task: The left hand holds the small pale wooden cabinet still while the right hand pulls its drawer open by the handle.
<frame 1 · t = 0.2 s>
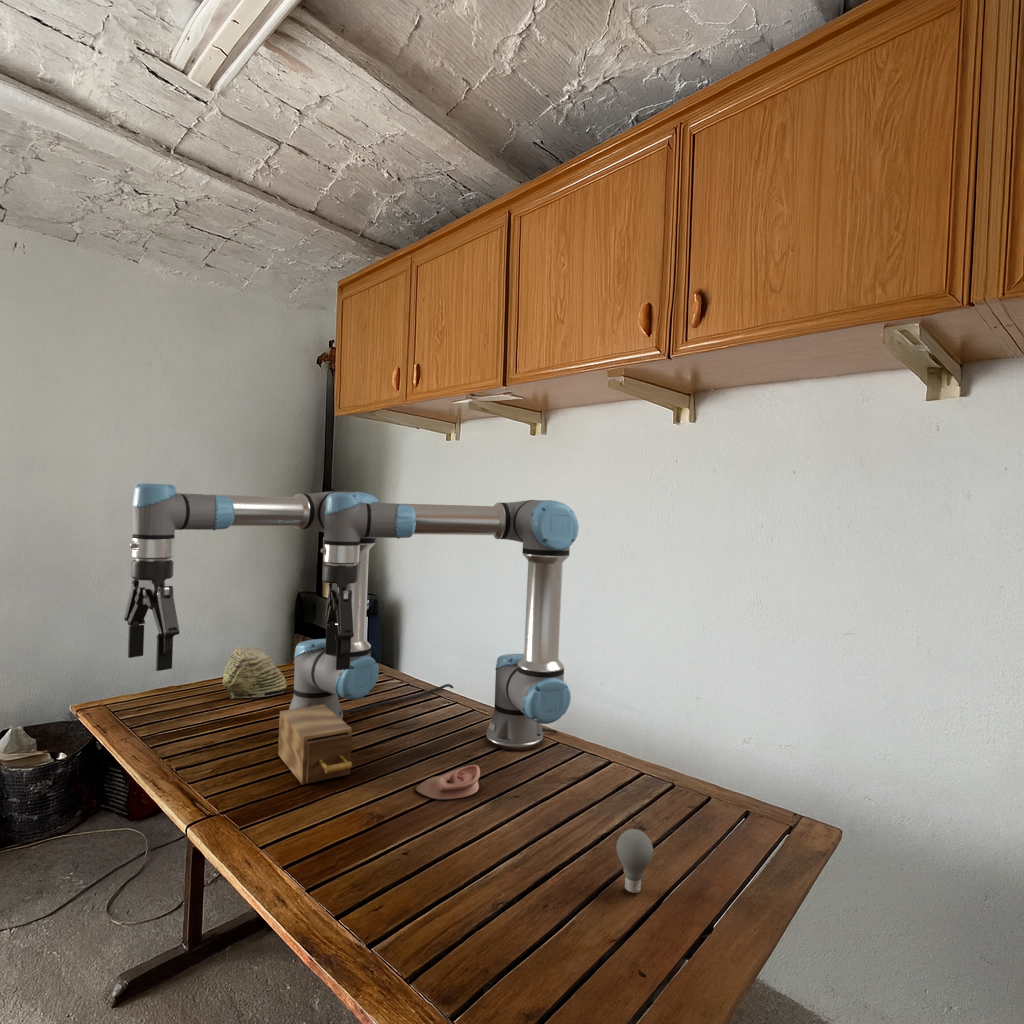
left hand: (149, 663, 129), 28 cm above the table, tool pointing down, fingers open, 13 cm apart
right hand: (336, 661, 138), 28 cm above the table, tool pointing down, fingers open, 13 cm apart
drawer: (321, 749, 145), point 5 cm above the table, slide at 0.7 cm
light bulb: (632, 891, 106), on the table
fossil: (254, 694, 198), on the table
anatomical model: (448, 789, 140), on the table
cabinet: (312, 764, 150), on the table
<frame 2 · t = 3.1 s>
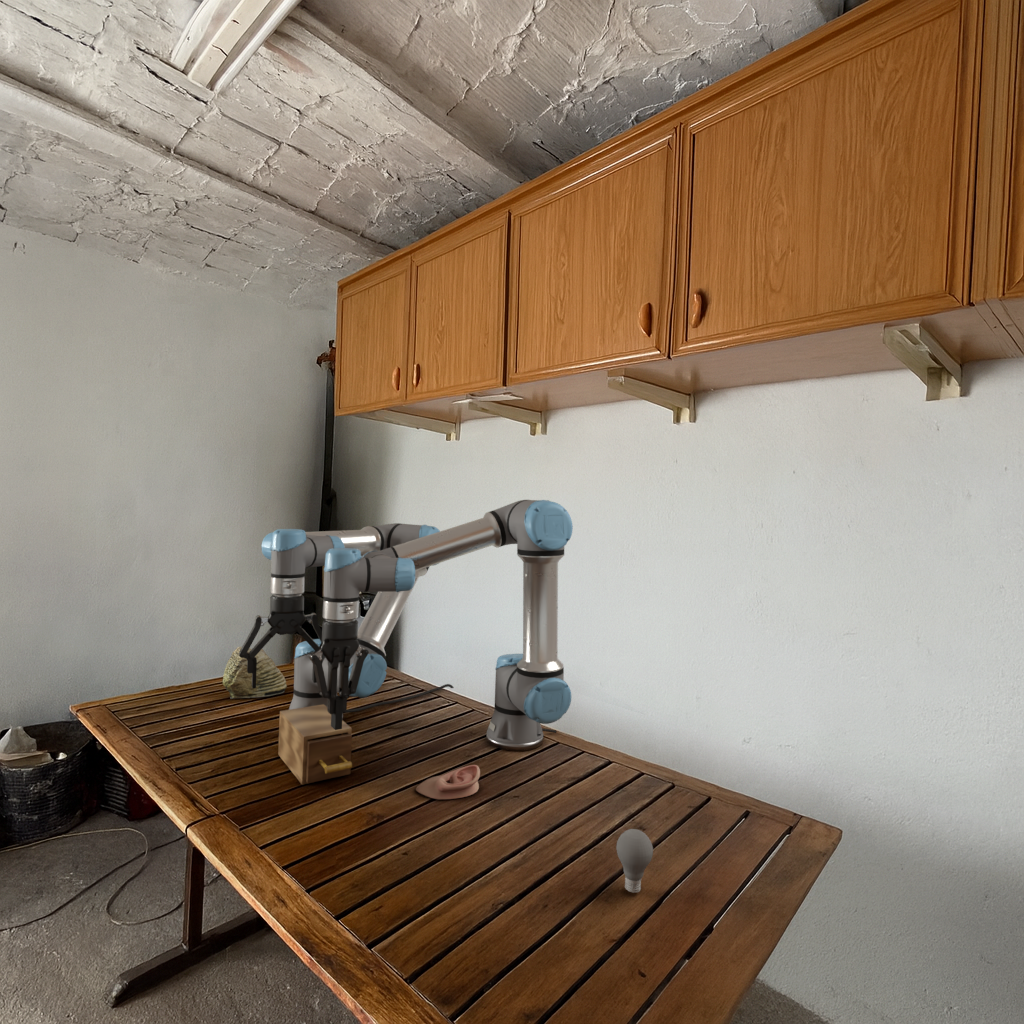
left hand: (284, 684, 150), 19 cm above the table, tool pointing down, fingers open, 13 cm apart
right hand: (336, 727, 138), 13 cm above the table, tool pointing down, fingers closed
nothing on the table moved.
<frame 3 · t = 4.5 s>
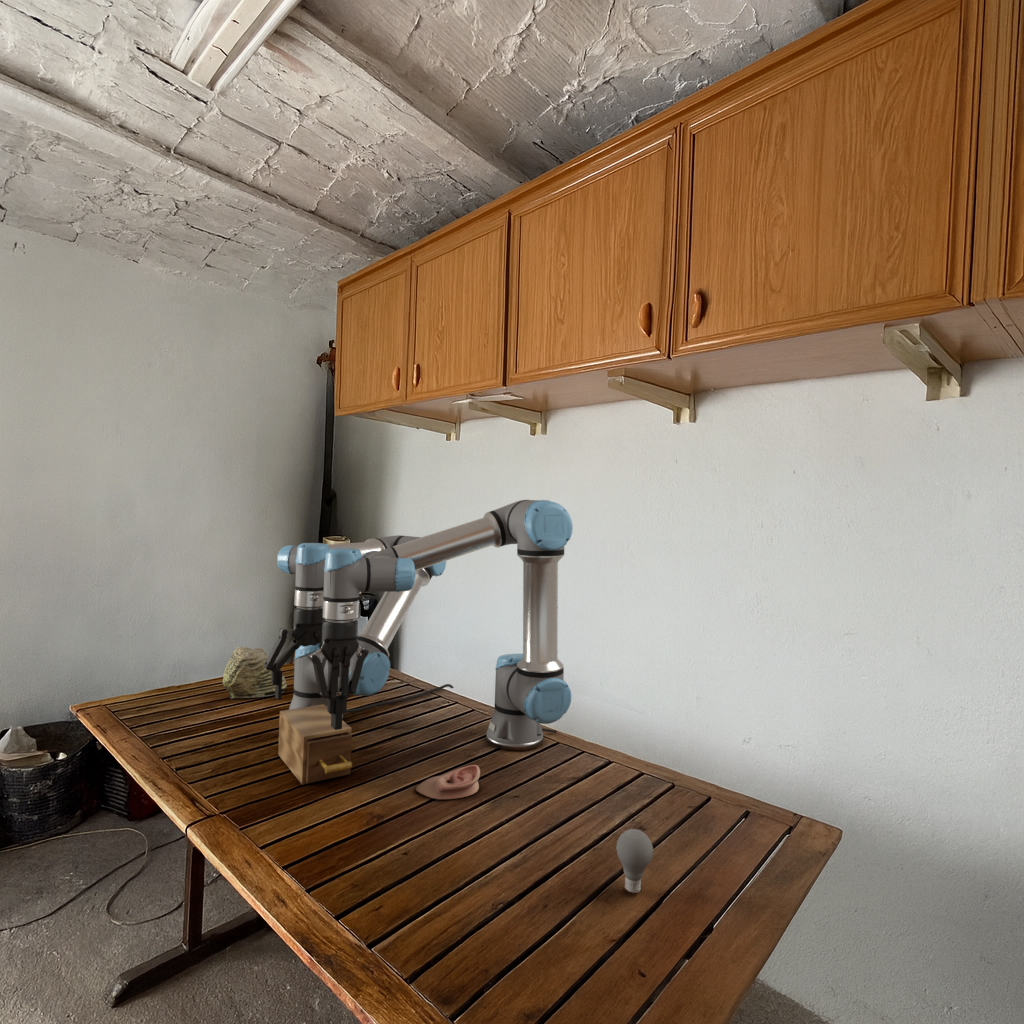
left hand: (306, 694, 154), 15 cm above the table, tool pointing down, fingers open, 13 cm apart
right hand: (336, 727, 138), 13 cm above the table, tool pointing down, fingers closed
nothing on the table moved.
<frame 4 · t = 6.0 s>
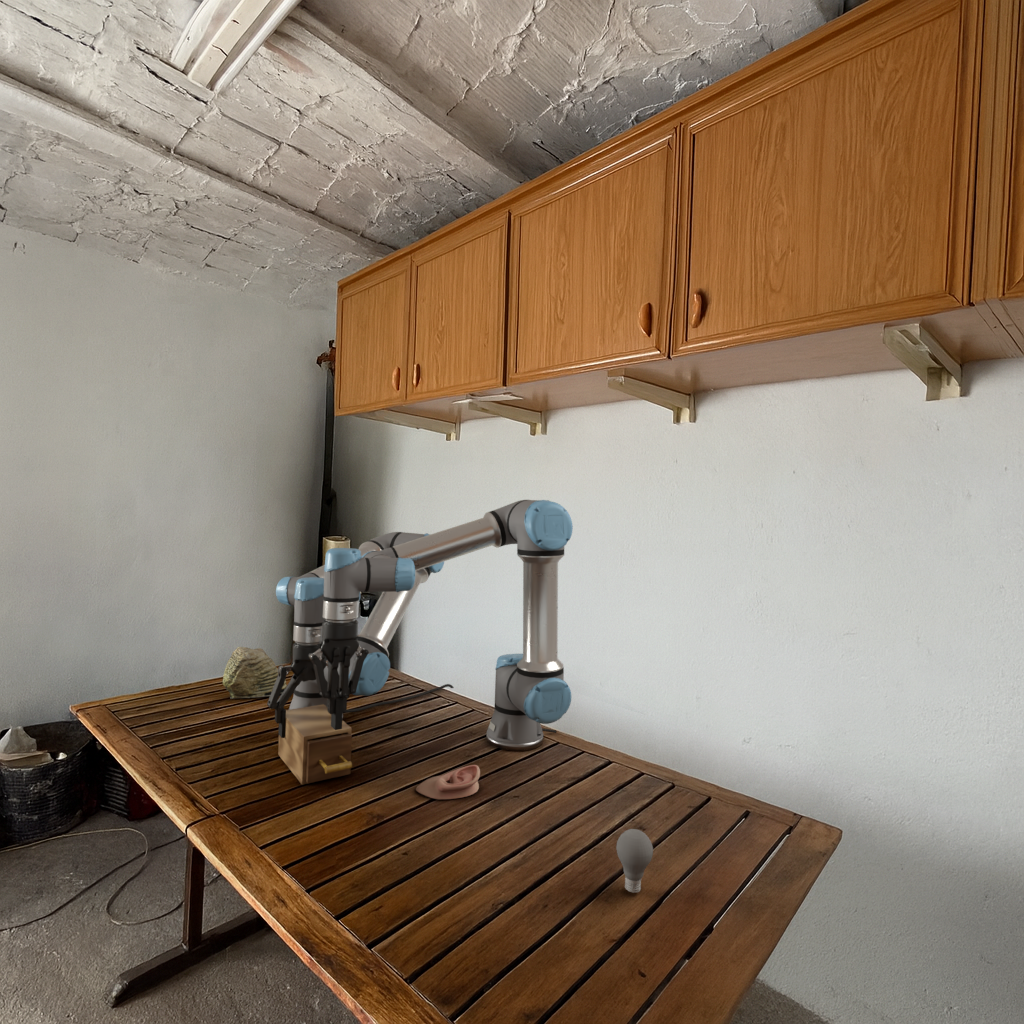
left hand: (306, 731, 154), 6 cm above the table, tool pointing down, fingers closed on cabinet, 11 cm apart
right hand: (336, 727, 138), 13 cm above the table, tool pointing down, fingers closed
cabinet: (312, 764, 150), on the table, touching left hand
everything else where it was.
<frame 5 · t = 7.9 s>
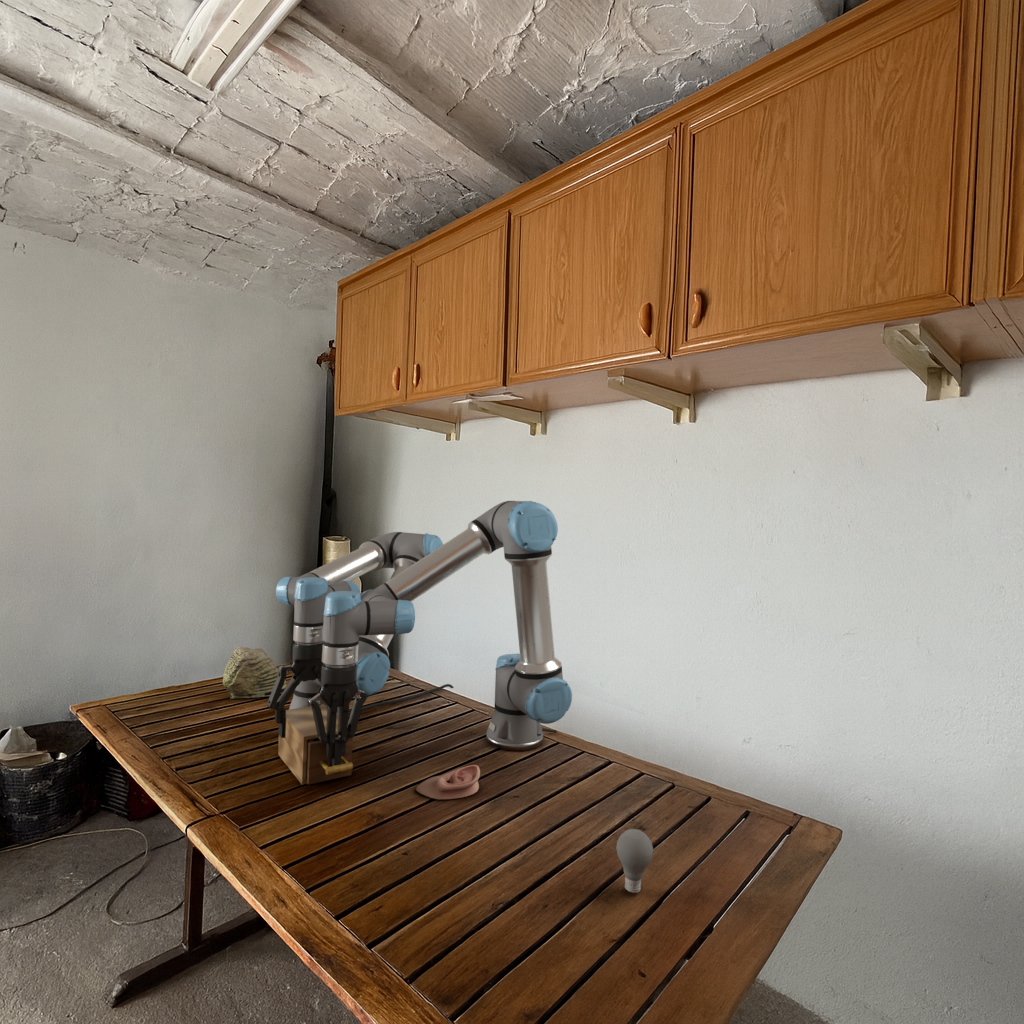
left hand: (306, 731, 154), 6 cm above the table, tool pointing down, fingers closed on cabinet, 11 cm apart
right hand: (334, 771, 137), 4 cm above the table, tool pointing down, fingers closed
drawer: (322, 750, 145), point 5 cm above the table, slide at 1.3 cm, touching right hand
cabinet: (312, 764, 150), on the table, touching left hand
everything else where it was.
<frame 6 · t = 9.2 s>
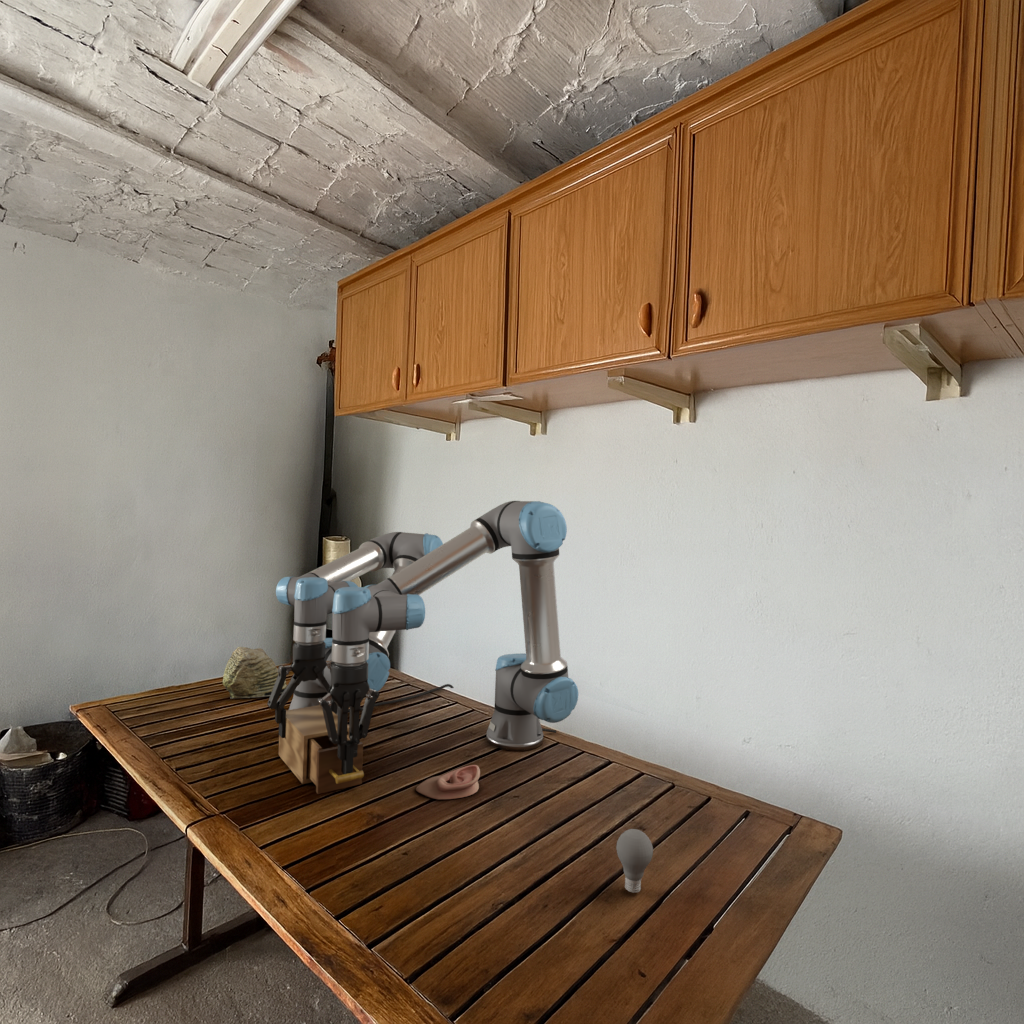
left hand: (306, 731, 154), 6 cm above the table, tool pointing down, fingers closed on cabinet, 11 cm apart
right hand: (347, 773, 133), 6 cm above the table, tool pointing down, fingers closed
drawer: (331, 758, 140), point 6 cm above the table, slide at 7.0 cm, touching right hand
cabinet: (313, 764, 149), on the table, touching left hand
everything else where it was.
when the left hand's fingers open (6 cm above the table, at t = 10.8 s): cabinet stays where it is, on the table.
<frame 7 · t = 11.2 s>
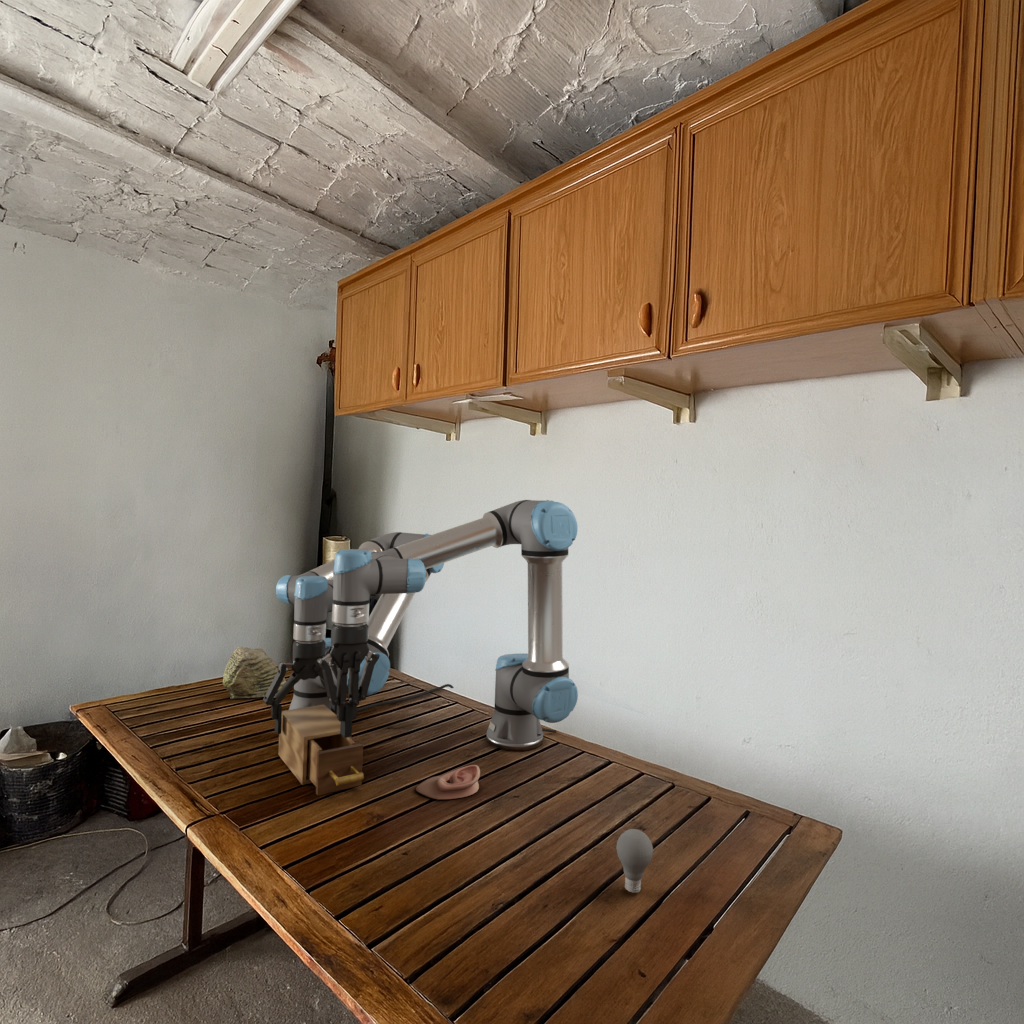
left hand: (306, 727, 154), 7 cm above the table, tool pointing down, fingers open, 13 cm apart
right hand: (345, 735, 133), 14 cm above the table, tool pointing down, fingers closed
drawer: (331, 759, 140), point 5 cm above the table, slide at 7.0 cm
cabinet: (313, 764, 149), on the table
everything else where it was.
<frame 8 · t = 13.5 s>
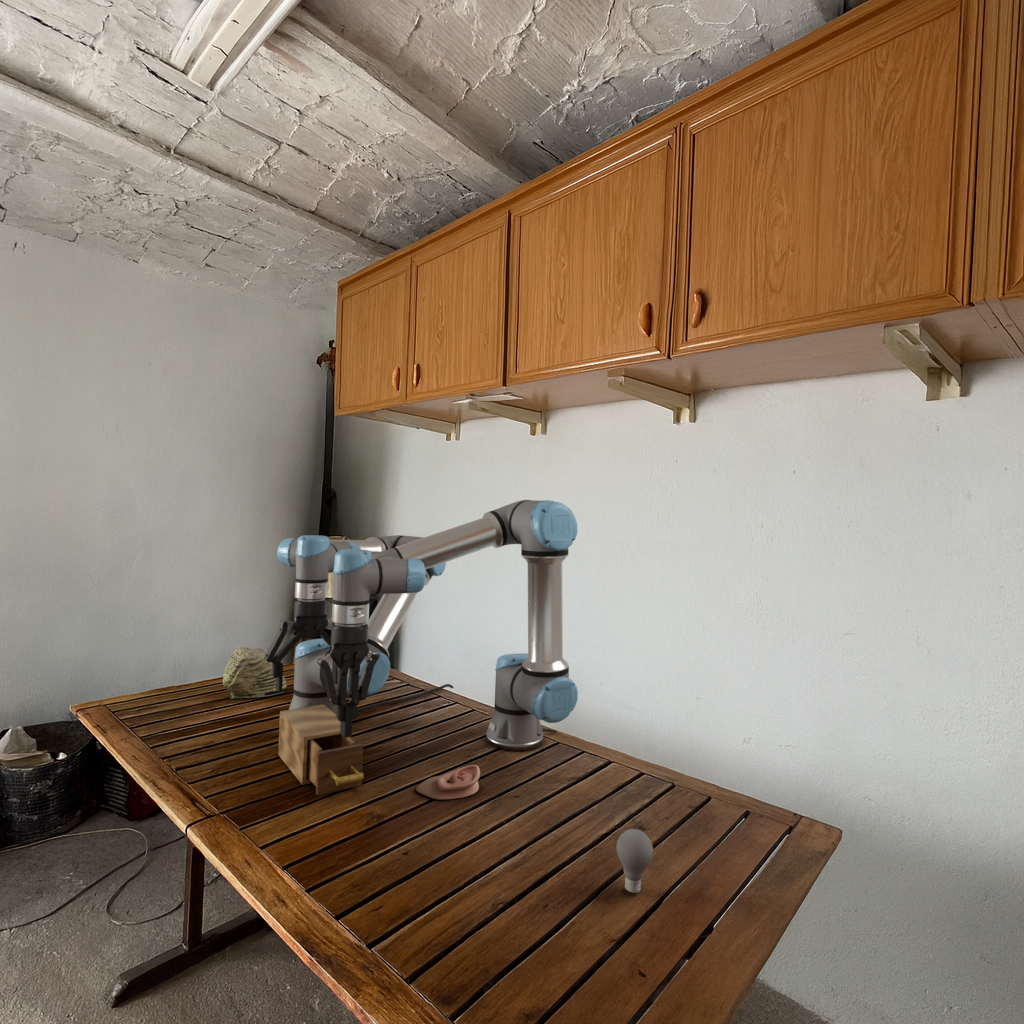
left hand: (307, 686, 154), 17 cm above the table, tool pointing down, fingers open, 13 cm apart
right hand: (345, 735, 133), 14 cm above the table, tool pointing down, fingers closed
nothing on the table moved.
at the end: drawer slide at 7.0 cm; cabinet tilted 0°; cabinet never tilted more than 1° during the clip; cabinet moved 0.1 cm from its start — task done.
